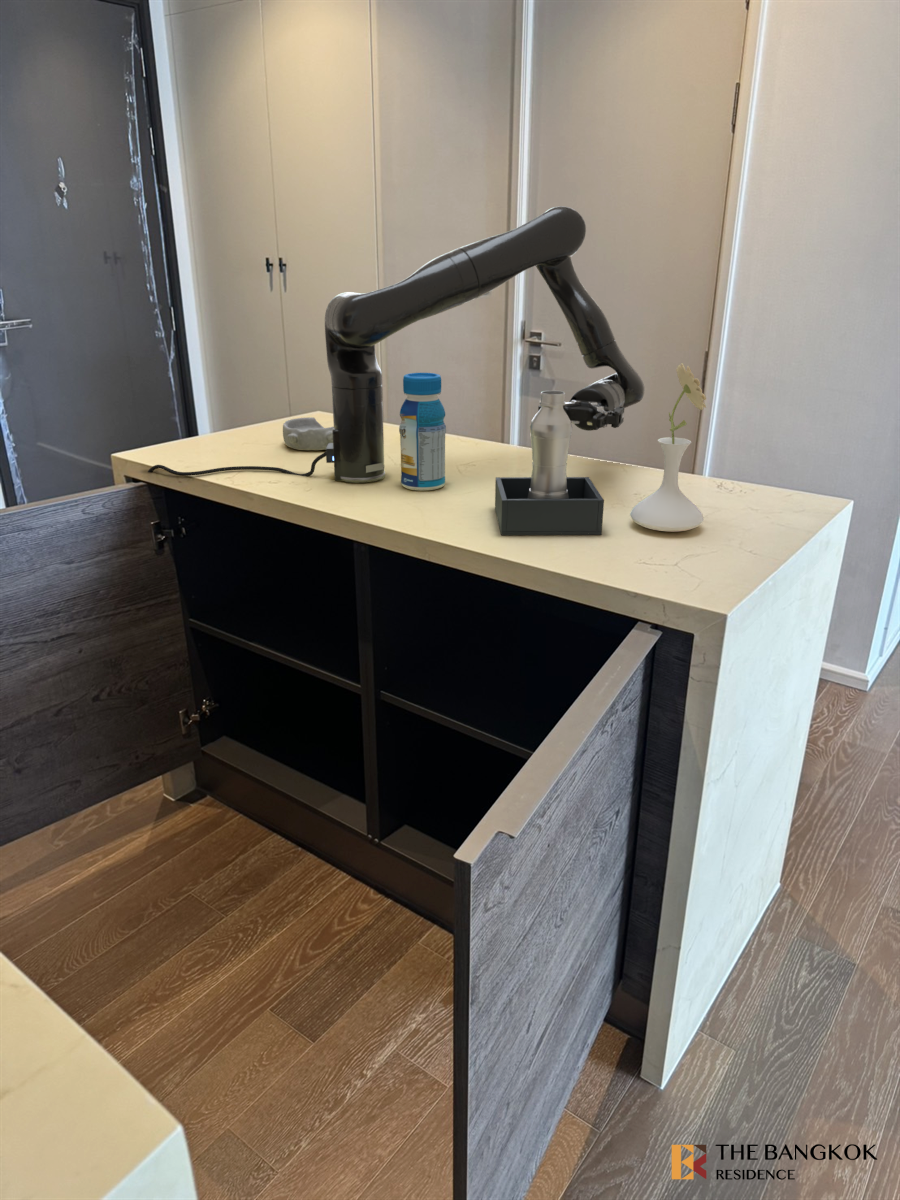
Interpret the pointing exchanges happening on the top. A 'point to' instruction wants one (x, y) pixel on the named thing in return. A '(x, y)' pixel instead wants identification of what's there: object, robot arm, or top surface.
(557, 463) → the plastic bottle
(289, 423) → the dish
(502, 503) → the black open rectangular box
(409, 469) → the beverage bottle
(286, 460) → the top surface
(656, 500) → the flower in vase
